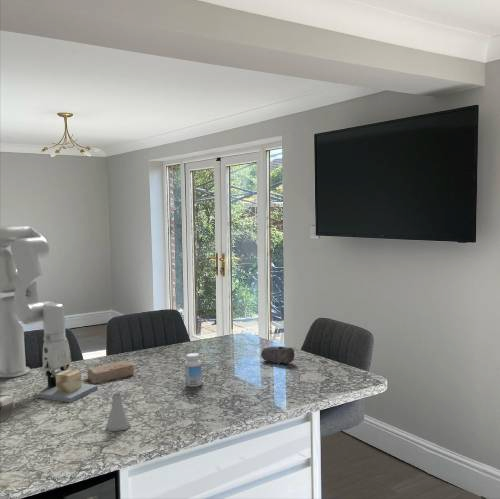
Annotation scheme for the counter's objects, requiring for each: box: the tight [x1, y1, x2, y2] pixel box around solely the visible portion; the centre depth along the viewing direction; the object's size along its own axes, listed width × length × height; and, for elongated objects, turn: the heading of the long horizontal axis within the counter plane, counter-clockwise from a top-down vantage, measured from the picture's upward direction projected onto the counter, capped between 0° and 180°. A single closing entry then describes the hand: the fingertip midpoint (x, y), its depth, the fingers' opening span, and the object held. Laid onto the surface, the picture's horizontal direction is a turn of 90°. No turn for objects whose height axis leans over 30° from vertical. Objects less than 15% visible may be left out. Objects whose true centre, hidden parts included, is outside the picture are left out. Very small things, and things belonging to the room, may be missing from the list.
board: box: [39, 382, 99, 403], centre depth 191 cm, size 14×14×2 cm
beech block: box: [56, 369, 82, 393], centre depth 191 cm, size 6×6×6 cm
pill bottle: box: [184, 352, 203, 388], centre depth 197 cm, size 6×6×11 cm
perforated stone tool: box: [260, 346, 295, 365], centre depth 222 cm, size 15×5×7 cm, turn 56°
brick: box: [87, 360, 135, 384], centre depth 210 cm, size 17×8×5 cm, turn 125°
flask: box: [105, 392, 131, 432], centre depth 159 cm, size 7×7×10 cm
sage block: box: [46, 369, 63, 385], centre depth 201 cm, size 5×5×5 cm
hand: (57, 384), depth 201 cm, fingers closed on sage block, 5 cm apart
